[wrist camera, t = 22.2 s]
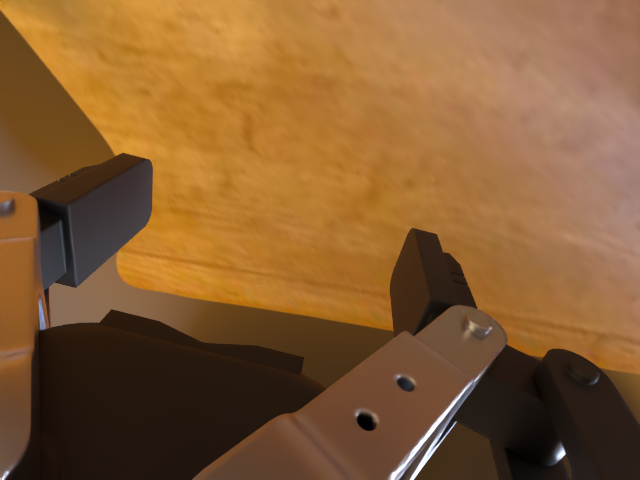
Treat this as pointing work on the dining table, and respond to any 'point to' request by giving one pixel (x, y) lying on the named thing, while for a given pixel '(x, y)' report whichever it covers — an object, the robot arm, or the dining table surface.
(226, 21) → the dining table surface
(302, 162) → the dining table surface
